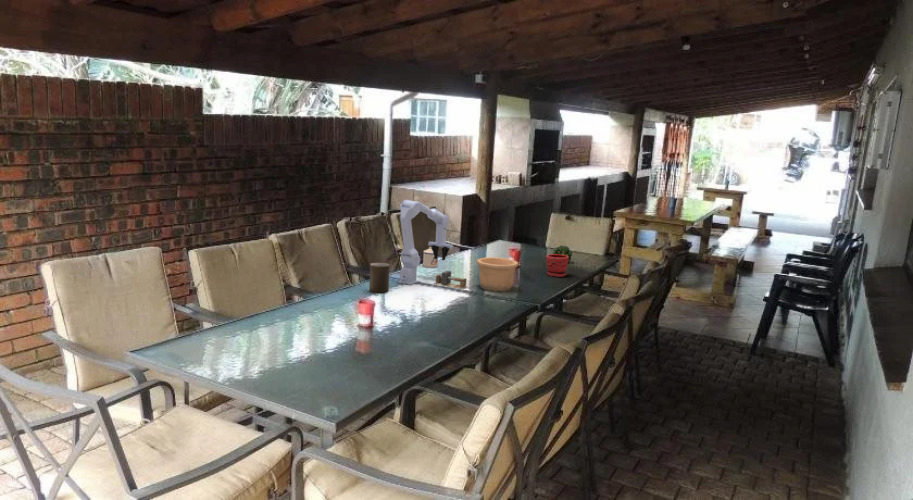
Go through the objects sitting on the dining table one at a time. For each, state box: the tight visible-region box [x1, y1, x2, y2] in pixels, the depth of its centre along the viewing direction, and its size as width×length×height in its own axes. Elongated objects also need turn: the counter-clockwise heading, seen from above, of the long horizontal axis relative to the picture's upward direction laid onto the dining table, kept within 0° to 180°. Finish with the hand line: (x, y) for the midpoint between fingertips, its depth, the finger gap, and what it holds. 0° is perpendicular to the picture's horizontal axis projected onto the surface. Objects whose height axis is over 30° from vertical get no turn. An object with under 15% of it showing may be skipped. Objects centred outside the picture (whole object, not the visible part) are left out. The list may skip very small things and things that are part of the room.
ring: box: [441, 270, 452, 285], centre depth 351 cm, size 2×6×6 cm, turn 152°
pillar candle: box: [369, 262, 390, 294], centre depth 329 cm, size 10×10×15 cm
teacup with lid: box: [422, 246, 439, 269], centre depth 396 cm, size 12×9×12 cm
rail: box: [433, 273, 468, 290], centre depth 350 cm, size 17×6×5 cm, turn 63°
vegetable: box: [551, 245, 573, 265], centre depth 427 cm, size 12×13×15 cm
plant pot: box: [545, 253, 569, 278], centre depth 389 cm, size 13×13×12 cm
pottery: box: [476, 256, 519, 292], centre depth 350 cm, size 22×22×14 cm
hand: (439, 259), depth 367 cm, fingers open, 4 cm apart
